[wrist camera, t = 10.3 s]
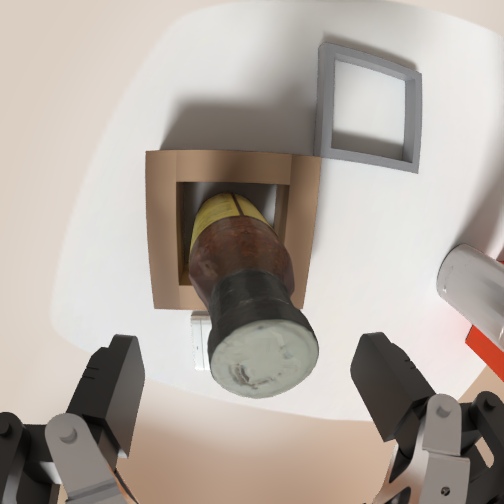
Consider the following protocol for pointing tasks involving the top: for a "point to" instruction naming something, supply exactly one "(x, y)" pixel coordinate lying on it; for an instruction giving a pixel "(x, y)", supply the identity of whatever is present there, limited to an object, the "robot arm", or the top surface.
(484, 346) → the file binder
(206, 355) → the hard drive
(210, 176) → the holder
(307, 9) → the top surface
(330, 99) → the square frame
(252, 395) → the sauce bottle
